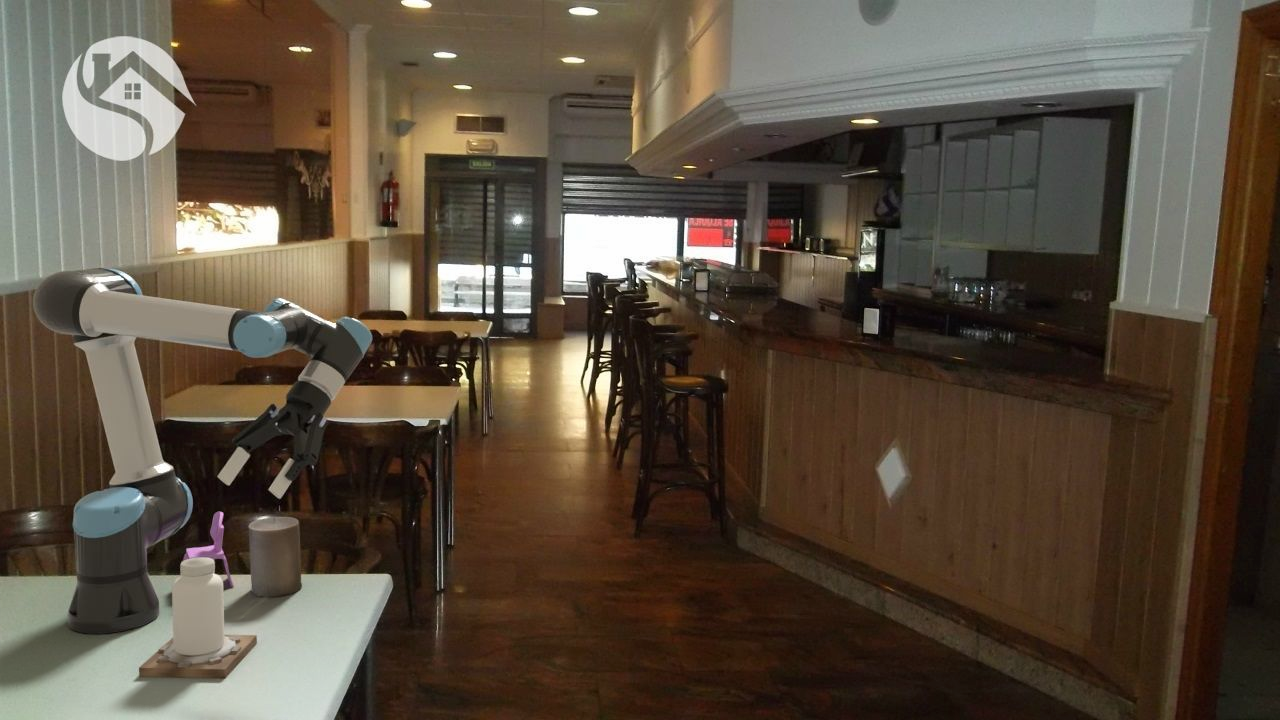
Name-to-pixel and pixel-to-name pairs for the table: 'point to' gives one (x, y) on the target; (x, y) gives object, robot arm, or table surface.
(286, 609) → the table surface
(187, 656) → the gear board
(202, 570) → the pill bottle
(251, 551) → the pillar candle
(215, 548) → the toy chair
